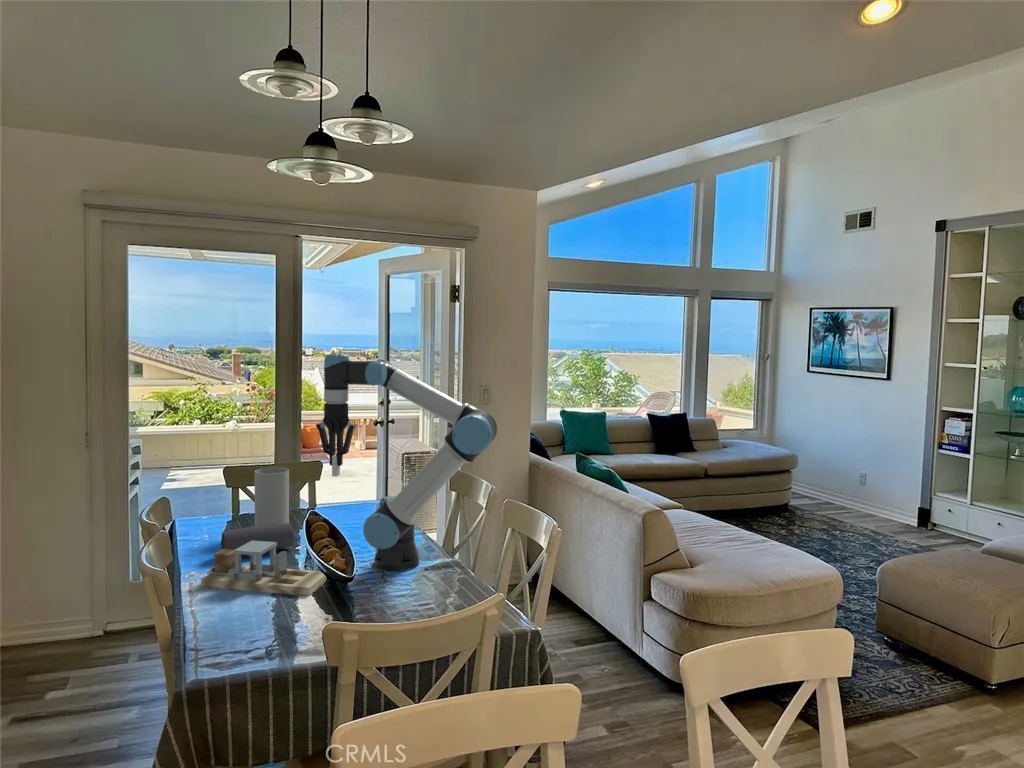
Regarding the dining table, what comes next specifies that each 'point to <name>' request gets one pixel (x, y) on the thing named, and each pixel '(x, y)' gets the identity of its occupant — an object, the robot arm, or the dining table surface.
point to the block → (224, 560)
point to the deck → (271, 582)
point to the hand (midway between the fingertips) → (336, 475)
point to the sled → (279, 571)
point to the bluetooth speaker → (258, 536)
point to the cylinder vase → (271, 496)
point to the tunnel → (254, 559)
